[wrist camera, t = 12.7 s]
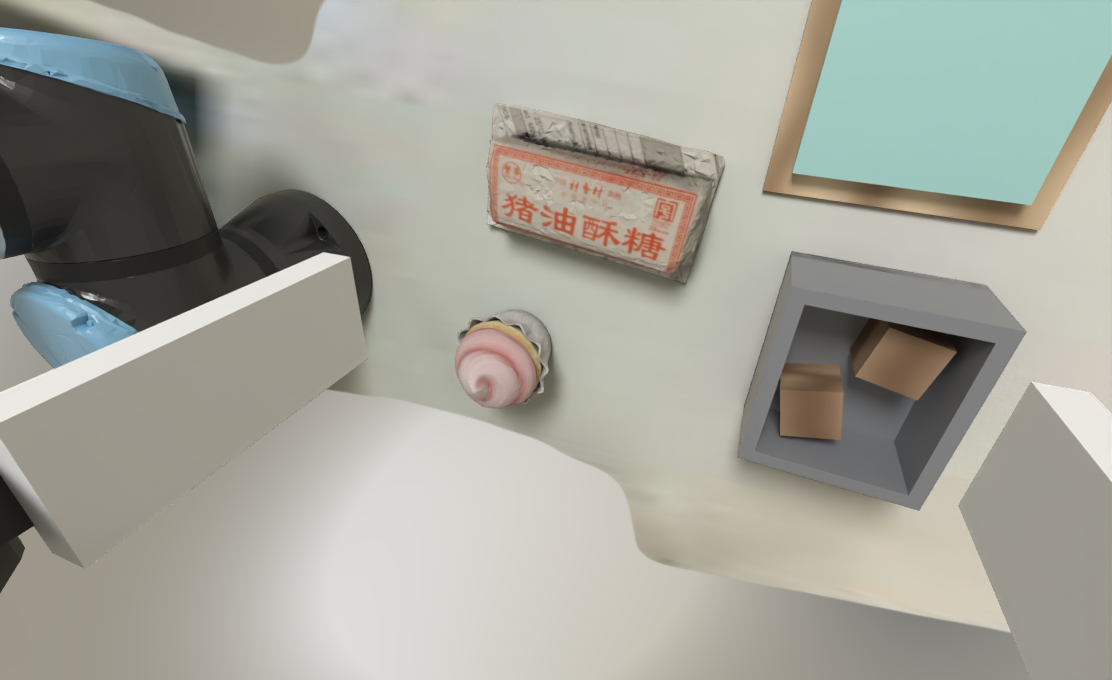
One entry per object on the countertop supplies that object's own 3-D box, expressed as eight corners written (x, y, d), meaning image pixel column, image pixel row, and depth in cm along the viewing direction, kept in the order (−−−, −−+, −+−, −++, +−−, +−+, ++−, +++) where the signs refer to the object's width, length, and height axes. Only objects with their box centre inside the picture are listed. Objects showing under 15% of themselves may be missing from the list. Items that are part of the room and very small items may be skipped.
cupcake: (569, 386, 50) (527, 450, 42) (486, 371, 54) (431, 427, 45) (566, 299, 46) (518, 351, 38) (475, 288, 49) (413, 334, 41)
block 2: (849, 348, 38) (855, 376, 34) (880, 302, 35) (889, 327, 32) (906, 370, 37) (917, 400, 34) (941, 324, 35) (956, 352, 31)
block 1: (780, 405, 42) (780, 435, 38) (780, 362, 40) (779, 390, 37) (836, 409, 40) (840, 439, 37) (839, 364, 38) (843, 392, 35)
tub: (744, 405, 44) (737, 457, 38) (791, 251, 37) (792, 286, 31) (900, 447, 41) (919, 510, 35) (986, 285, 33) (1026, 331, 28)
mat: (762, 189, 36) (762, 190, 36) (853, -158, 27) (854, -161, 26) (1037, 228, 31) (1040, 230, 31) (1259, -177, 22) (1266, -180, 22)
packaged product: (721, 164, 32) (678, 302, 37) (729, 152, 36) (688, 279, 41) (470, 104, 36) (463, 236, 42) (501, 99, 40) (491, 220, 46)
